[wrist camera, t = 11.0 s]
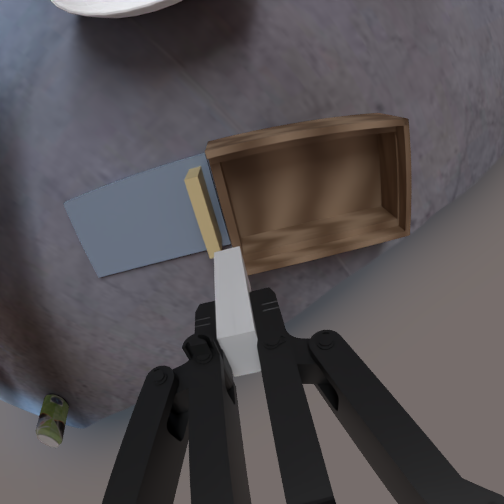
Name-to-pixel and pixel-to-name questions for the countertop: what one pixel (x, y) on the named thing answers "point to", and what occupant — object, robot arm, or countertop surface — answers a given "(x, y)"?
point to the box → (314, 187)
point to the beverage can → (52, 421)
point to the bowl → (112, 7)
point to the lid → (150, 217)
